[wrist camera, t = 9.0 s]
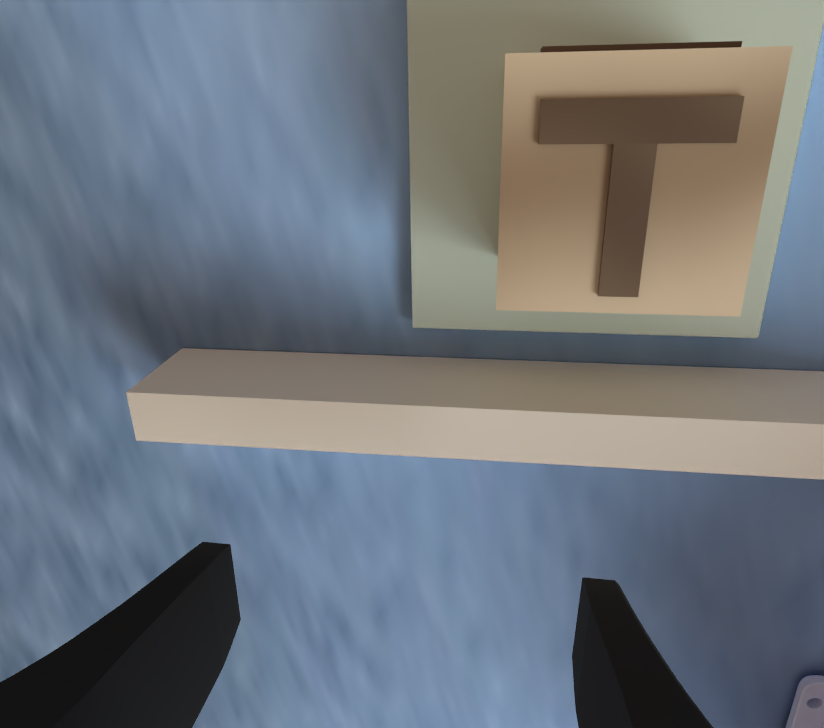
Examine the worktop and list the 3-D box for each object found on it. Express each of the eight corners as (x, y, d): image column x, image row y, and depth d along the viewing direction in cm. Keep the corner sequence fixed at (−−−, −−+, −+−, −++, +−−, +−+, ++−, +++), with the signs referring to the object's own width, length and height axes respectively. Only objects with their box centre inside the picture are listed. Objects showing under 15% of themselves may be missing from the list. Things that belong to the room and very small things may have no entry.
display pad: (750, 331, 19) (758, 338, 18) (414, 321, 20) (412, 327, 20) (831, -72, 15) (844, -78, 14) (409, -51, 16) (405, -56, 16)
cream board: (872, 421, 19) (945, 486, 16) (189, 390, 22) (136, 440, 19) (886, 373, 19) (965, 431, 16) (182, 348, 22) (126, 391, 18)
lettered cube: (679, 258, 18) (742, 318, 13) (498, 256, 18) (495, 311, 14) (710, 54, 16) (797, 37, 11) (505, 59, 16) (505, 44, 12)
